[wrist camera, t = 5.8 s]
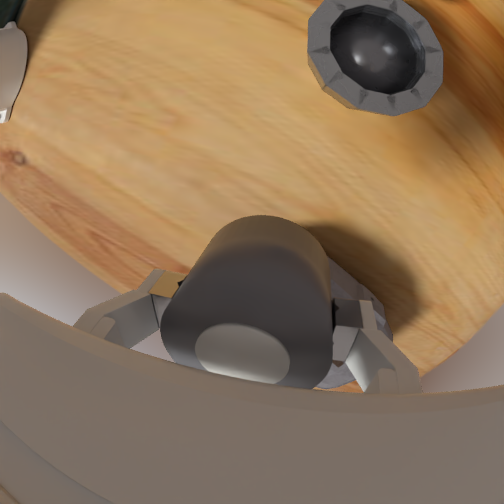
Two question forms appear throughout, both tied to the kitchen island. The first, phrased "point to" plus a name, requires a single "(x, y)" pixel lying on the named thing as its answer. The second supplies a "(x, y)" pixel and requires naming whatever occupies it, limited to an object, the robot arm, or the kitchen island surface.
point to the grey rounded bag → (351, 289)
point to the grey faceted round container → (374, 55)
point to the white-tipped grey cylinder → (255, 306)
